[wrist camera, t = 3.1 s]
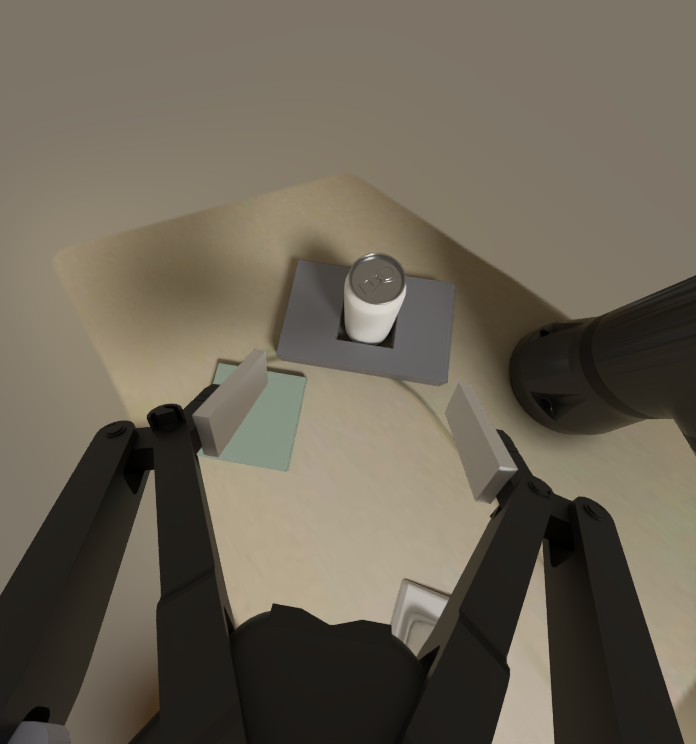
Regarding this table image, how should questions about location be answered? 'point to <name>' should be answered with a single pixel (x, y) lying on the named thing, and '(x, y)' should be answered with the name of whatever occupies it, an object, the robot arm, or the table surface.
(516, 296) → the table surface
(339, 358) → the block
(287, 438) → the mat
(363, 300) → the can
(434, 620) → the light switch
